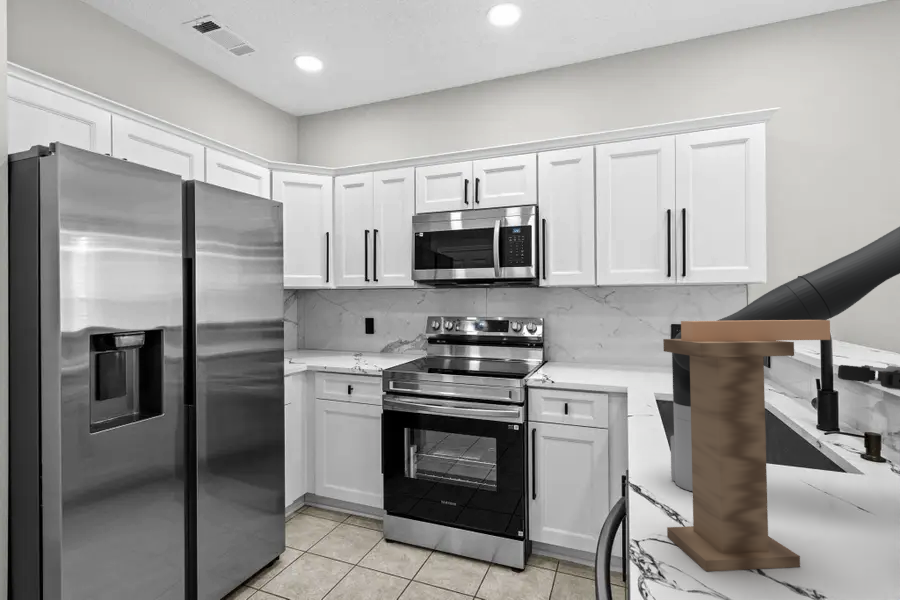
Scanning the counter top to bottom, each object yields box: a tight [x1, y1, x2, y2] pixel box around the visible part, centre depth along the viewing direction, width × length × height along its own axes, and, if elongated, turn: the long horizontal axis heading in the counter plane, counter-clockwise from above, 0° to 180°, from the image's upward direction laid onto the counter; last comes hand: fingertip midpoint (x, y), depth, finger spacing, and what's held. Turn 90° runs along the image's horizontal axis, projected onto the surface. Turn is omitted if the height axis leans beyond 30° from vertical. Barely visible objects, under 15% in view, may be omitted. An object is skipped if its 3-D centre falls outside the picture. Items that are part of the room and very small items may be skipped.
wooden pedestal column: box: [662, 338, 801, 572], centre depth 70 cm, size 14×10×32 cm
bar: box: [680, 319, 831, 342], centre depth 71 cm, size 22×3×3 cm, turn 94°
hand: (859, 375), depth 66 cm, fingers open, 8 cm apart
